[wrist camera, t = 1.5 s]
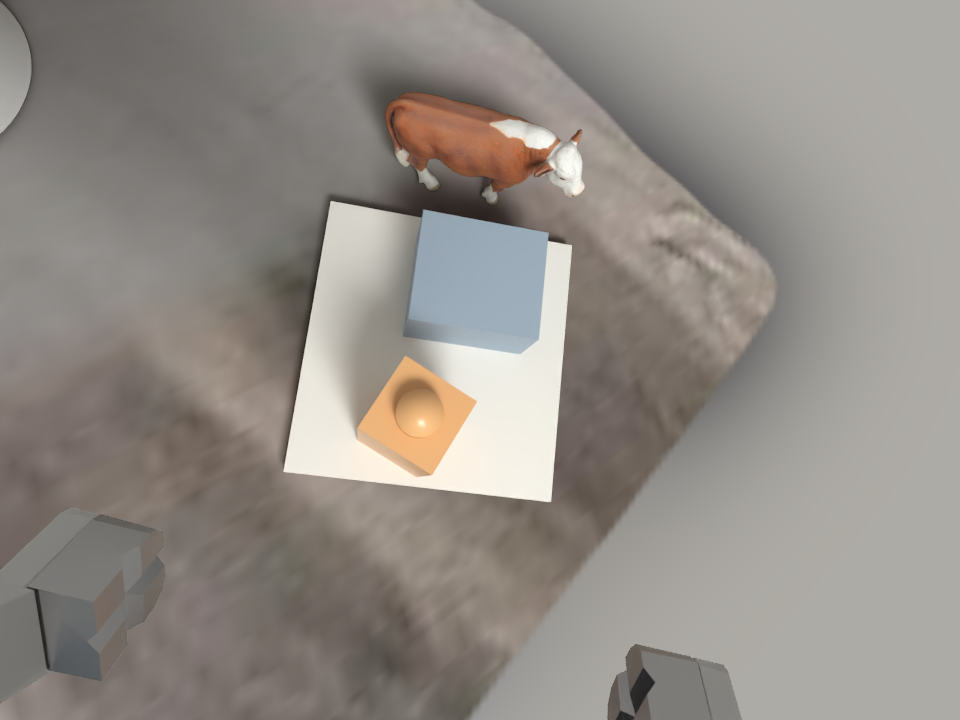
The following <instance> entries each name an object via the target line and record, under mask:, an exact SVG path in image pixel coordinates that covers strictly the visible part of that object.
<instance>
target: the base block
mask: <svg viewBox="0 0 960 720" xmlns="http://www.w3.org/2000/svg"><path fill="white" fill-rule="evenodd" d="M548 235H549V233H546V232H541V231H535V230H530V229H525V228H519V227H514V226H509V225H503V224H498V223H493V222H487V221H482V220H477V219H471V218H466V217H460V216H455V215H450V214H444V213H439V212H434V211H428V210H423V214H422V218H421V222H420V226H419V230H418V234H417V239H416V246H415V253H414V260H413V267H412V274H411V281H410V288H409V296H408V303H407V310H406V317H405V324H404V331H403V337H410V338H416V339H423V340H429V341H436V342H442V343H449V344H455V345H462V346H469V347H475V348H482V349H488V350H495V351H501V352H508V353H514V354H521V353H523V352H524V351H525V350H526V349H528V348H529V347H530V346H531V345H533V344H534V343H535V342H536V341H538V340H539V333H540V322H541V311H542V300H543V289H544V278H545V268H546V257H547V246H548Z"/></svg>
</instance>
